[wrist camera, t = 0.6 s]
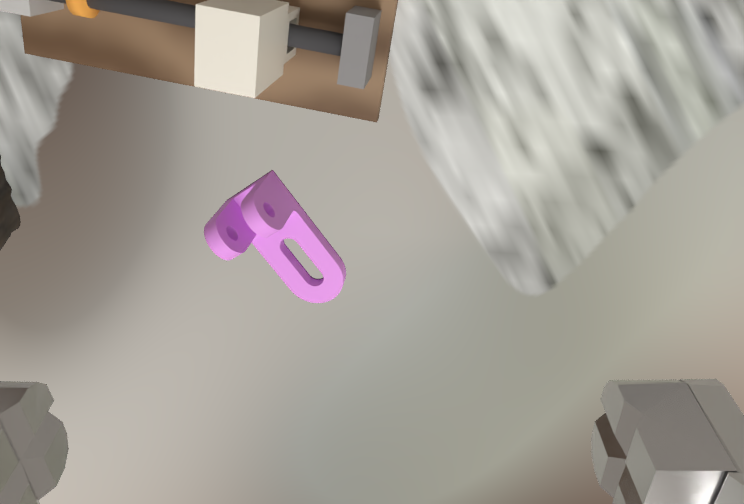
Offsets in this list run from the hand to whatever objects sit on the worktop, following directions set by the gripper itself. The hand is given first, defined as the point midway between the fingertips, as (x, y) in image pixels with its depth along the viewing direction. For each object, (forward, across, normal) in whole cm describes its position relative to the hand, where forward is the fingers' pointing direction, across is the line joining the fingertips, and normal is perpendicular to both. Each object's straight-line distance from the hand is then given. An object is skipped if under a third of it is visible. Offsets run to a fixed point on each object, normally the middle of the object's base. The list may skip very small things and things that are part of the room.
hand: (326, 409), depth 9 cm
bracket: (+44, +7, +24) cm, 50 cm away
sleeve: (+43, +7, +5) cm, 44 cm away
